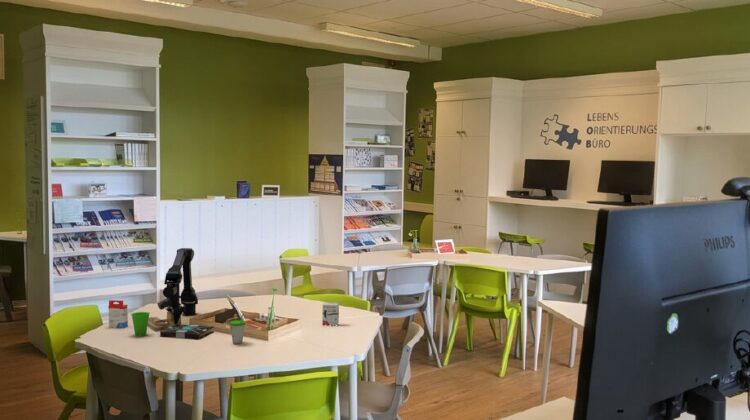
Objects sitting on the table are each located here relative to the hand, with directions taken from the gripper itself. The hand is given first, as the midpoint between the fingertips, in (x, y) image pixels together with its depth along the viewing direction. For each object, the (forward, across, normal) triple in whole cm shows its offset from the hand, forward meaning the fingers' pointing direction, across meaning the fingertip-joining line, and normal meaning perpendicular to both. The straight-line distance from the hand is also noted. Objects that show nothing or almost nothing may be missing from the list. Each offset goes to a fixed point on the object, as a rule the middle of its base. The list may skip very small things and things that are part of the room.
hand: (174, 323), depth 353 cm
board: (+2, -7, -8) cm, 11 cm away
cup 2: (+2, +49, +15) cm, 51 cm away
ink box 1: (+2, -15, -25) cm, 29 cm away
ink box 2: (+2, +40, +73) cm, 83 cm away
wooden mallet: (+2, 0, -4) cm, 4 cm away
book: (+3, +20, +1) cm, 20 cm away
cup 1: (+2, +9, -20) cm, 22 cm away
